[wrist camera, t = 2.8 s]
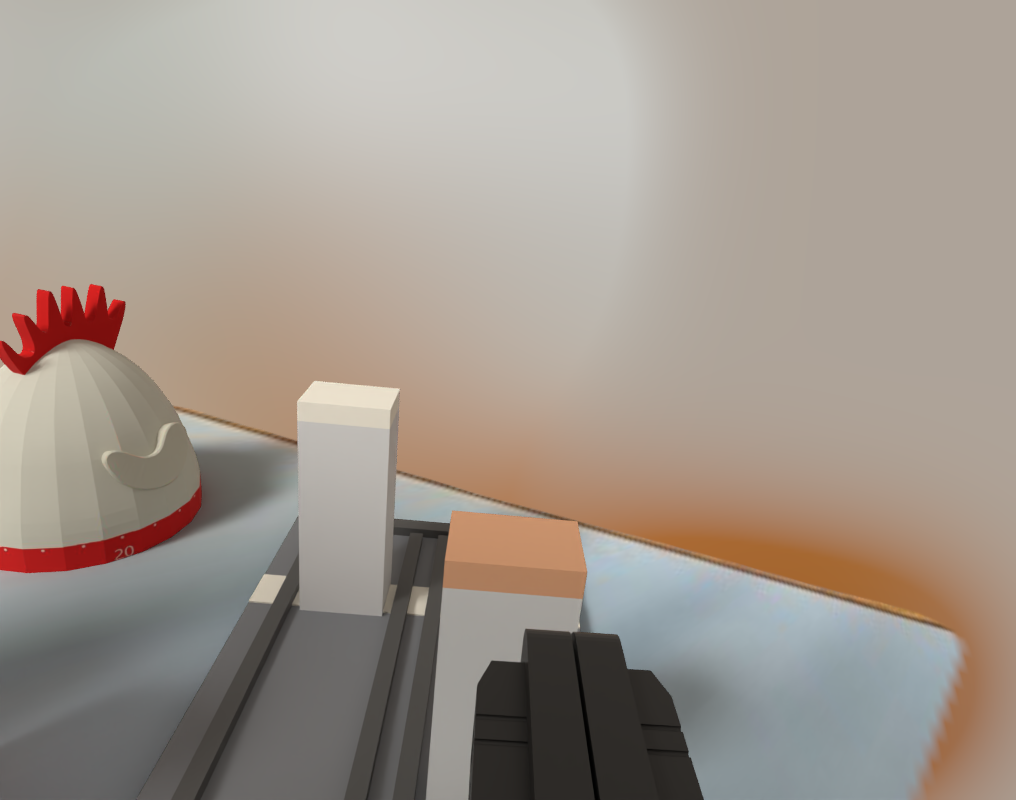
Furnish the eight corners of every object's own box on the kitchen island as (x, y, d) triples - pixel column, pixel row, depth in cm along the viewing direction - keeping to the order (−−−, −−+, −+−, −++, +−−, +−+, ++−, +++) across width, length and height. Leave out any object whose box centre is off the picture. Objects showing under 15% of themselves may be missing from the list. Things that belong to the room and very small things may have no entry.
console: (69, 944, 21) (1, 608, 16) (299, 527, 44) (297, 341, 40) (627, 977, 22) (708, 664, 17) (563, 549, 45) (590, 370, 41)
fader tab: (422, 835, 24) (444, 560, 20) (431, 765, 27) (452, 510, 23) (541, 843, 24) (587, 572, 20) (537, 772, 27) (577, 521, 23)
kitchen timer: (244, 492, 48) (236, 289, 43) (72, 600, 36) (31, 333, 31) (98, 449, 52) (73, 258, 47) (-104, 534, 40) (-168, 286, 34)
